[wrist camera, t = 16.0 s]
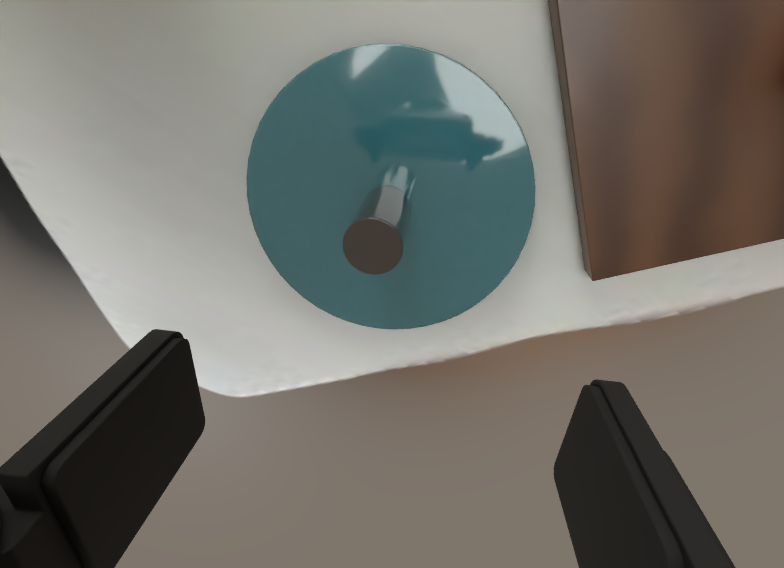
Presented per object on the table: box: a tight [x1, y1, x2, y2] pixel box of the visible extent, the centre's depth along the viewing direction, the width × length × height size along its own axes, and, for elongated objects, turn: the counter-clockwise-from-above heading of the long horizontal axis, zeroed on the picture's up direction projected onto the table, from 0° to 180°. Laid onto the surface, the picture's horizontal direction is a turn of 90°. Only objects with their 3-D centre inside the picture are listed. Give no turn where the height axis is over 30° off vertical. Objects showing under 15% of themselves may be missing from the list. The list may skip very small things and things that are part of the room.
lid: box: [247, 44, 535, 329], centre depth 23 cm, size 18×18×7 cm
